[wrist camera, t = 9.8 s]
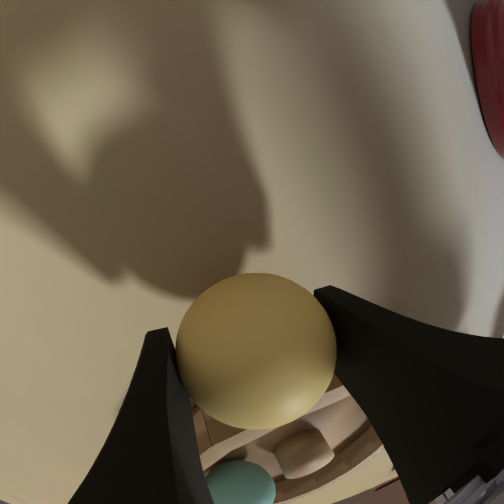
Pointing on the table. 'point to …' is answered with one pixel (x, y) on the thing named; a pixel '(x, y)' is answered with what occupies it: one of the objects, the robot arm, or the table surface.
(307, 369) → the bead ochre
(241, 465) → the bead teal
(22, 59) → the table surface
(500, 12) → the canister
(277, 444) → the groove tray
